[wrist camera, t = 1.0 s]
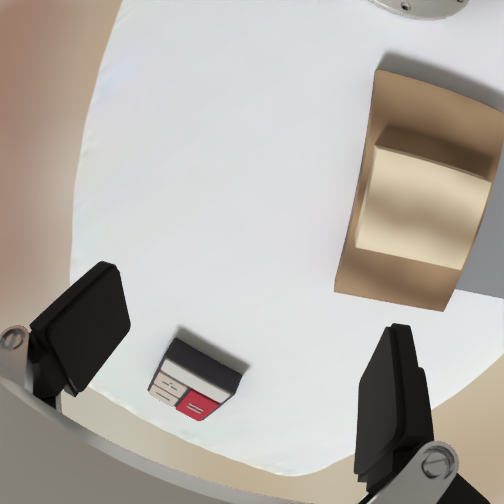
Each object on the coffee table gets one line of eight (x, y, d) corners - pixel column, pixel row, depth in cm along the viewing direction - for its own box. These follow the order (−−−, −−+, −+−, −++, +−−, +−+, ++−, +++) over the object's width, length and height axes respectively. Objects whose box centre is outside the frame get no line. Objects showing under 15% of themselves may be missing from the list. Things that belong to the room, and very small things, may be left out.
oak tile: (374, 144, 21) (377, 148, 19) (481, 176, 19) (491, 182, 17) (354, 236, 25) (355, 247, 23) (454, 258, 23) (460, 270, 22)
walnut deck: (374, 71, 20) (378, 69, 18) (497, 113, 18) (507, 115, 16) (334, 280, 30) (334, 291, 28) (439, 300, 28) (443, 311, 26)
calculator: (144, 393, 46) (161, 358, 37) (155, 375, 49) (175, 335, 41) (200, 424, 46) (234, 398, 38) (209, 405, 50) (243, 374, 41)
